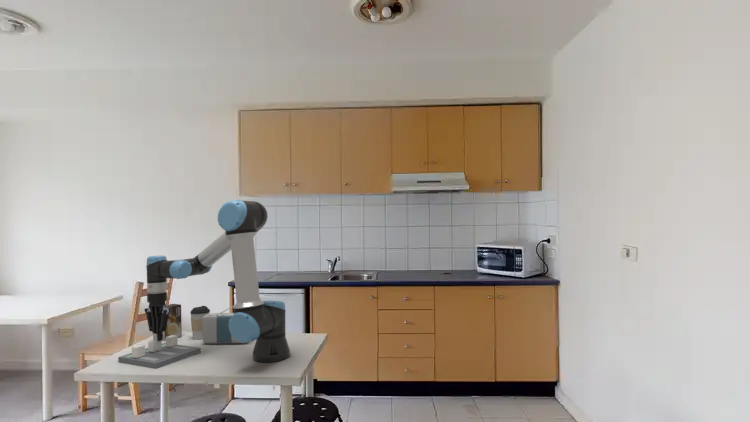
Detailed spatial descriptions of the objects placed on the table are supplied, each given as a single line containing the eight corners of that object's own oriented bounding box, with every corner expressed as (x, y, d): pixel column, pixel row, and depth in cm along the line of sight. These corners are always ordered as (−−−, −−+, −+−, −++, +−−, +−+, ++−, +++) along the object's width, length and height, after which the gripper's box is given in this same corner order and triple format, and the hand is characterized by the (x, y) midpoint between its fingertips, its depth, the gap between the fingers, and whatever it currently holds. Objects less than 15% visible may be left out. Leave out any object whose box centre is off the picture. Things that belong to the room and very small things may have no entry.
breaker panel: (200, 352, 186) (200, 347, 186) (156, 368, 165) (156, 363, 166) (164, 347, 195) (164, 342, 195) (118, 362, 174) (118, 356, 174)
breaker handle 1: (145, 355, 175) (145, 345, 175) (137, 357, 172) (136, 347, 172) (140, 354, 176) (140, 344, 176) (131, 357, 173) (131, 347, 173)
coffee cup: (203, 340, 204) (203, 309, 205) (186, 340, 206) (186, 308, 207) (214, 335, 213) (213, 305, 214) (197, 335, 215) (197, 305, 215)
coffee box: (174, 335, 216) (174, 303, 216) (182, 336, 212) (181, 304, 213) (156, 339, 208) (156, 306, 208) (164, 341, 204) (164, 307, 205)
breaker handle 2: (177, 344, 190) (177, 335, 190) (170, 346, 186) (170, 337, 186) (172, 344, 191) (172, 335, 191) (165, 346, 188) (165, 337, 188)
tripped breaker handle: (160, 349, 183) (160, 340, 183) (153, 352, 179) (153, 342, 179) (155, 348, 184) (155, 339, 184) (148, 351, 181) (148, 341, 181)
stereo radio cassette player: (201, 345, 197) (201, 301, 198) (209, 340, 205) (208, 298, 206) (246, 344, 196) (246, 301, 197) (252, 339, 204) (251, 297, 205)
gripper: (138, 293, 181) (139, 349, 180) (160, 294, 175) (161, 352, 175) (154, 290, 187) (155, 344, 187) (175, 291, 182) (176, 347, 182)
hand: (158, 348), depth 181 cm, fingers closed
